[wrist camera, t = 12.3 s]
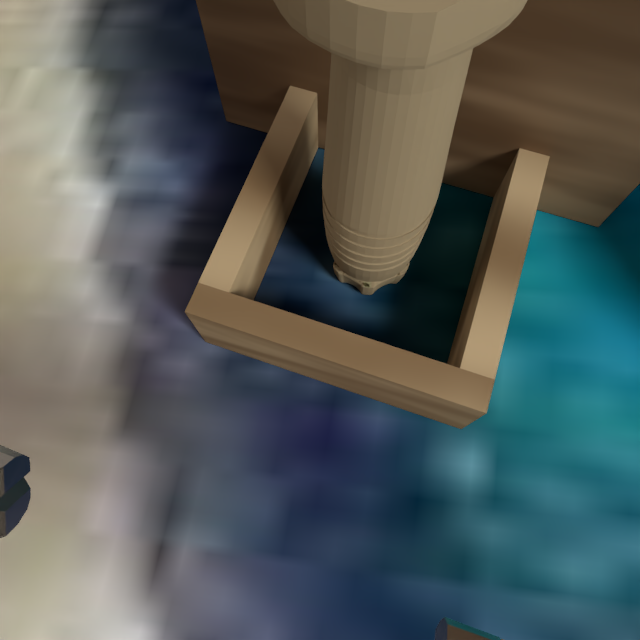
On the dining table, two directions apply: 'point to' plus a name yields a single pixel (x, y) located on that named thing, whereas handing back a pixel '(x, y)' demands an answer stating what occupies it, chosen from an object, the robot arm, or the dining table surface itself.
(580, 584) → the dining table surface
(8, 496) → the robot arm
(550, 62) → the cleat board
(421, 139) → the handle
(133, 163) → the dining table surface
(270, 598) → the dining table surface
